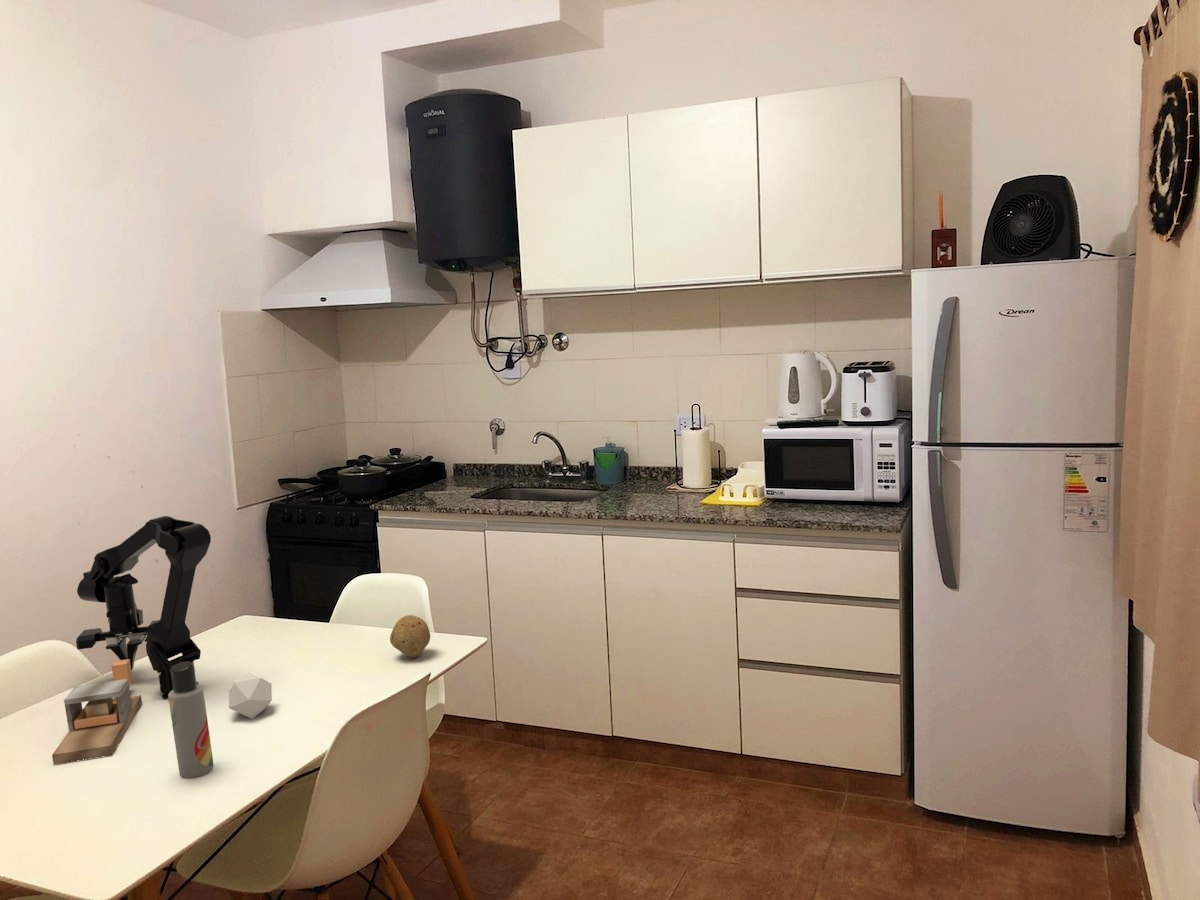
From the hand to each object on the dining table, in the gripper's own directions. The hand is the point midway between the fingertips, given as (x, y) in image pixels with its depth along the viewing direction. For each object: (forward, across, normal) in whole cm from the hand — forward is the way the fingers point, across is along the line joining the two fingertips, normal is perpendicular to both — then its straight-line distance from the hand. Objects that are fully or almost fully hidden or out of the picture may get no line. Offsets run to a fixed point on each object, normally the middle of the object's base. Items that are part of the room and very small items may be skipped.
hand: (130, 670), depth 213 cm
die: (+4, -29, +29) cm, 41 cm away
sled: (+1, 0, +17) cm, 17 cm away
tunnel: (+3, 0, +26) cm, 27 cm away
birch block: (+1, 0, +25) cm, 25 cm away
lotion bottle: (+4, -22, +52) cm, 57 cm away
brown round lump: (+3, -62, +10) cm, 63 cm away
